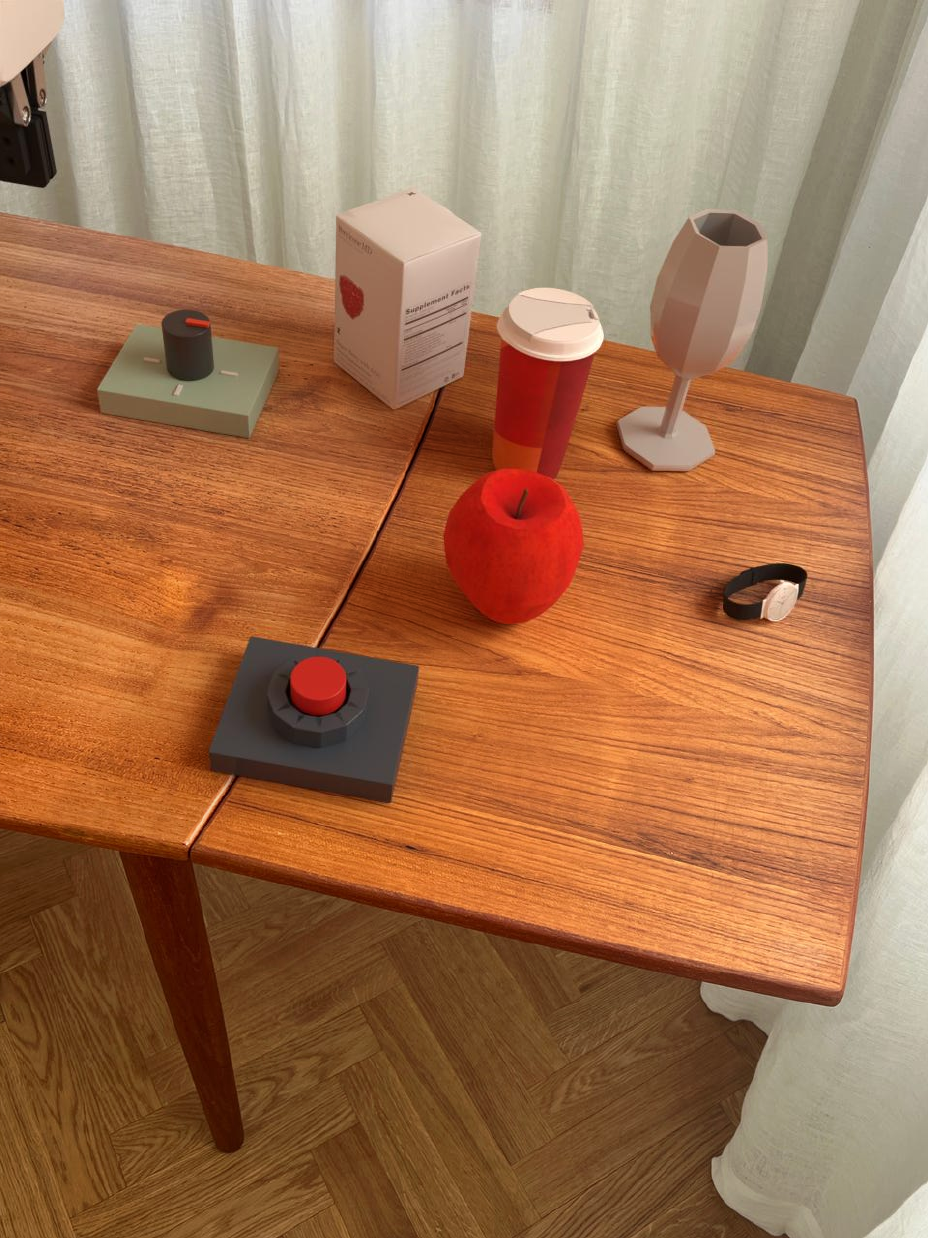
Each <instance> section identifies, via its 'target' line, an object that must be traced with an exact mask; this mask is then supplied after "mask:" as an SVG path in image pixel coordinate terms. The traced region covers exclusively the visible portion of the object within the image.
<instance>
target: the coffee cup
mask: <svg viewBox="0 0 928 1238" xmlns="http://www.w3.org/2000/svg"><path fill="white" fill-rule="evenodd" d="M600 321H601V320H600V317H599V315H598V313H597V311H596V309H594V305H593V303H591V302H590V301H589V300H587V299H586V298H584V297H583V296H580V295H579V294H577V293H574V292H572V291H569V290H565V289H561V288H554V287H535V288H534V287H533V288H530V289H526V290H523V291H520V292H519V293H517V294H516V295H515V296H514V297H513V298H512V299H511V301H510V302H509V304H508V305H507V306H506V307H505V308H504V310H503V311H502V312H501V314H500V316H499V318H498V320H497V323H496V330H497V333H498V335H499V336H500V348H499V349H500V352H499V361H498V364H499V365H498V374H497V386H496V388H497V389H496V397H495V398H496V399H495V409H494V410H495V411H494V424H493V436H492V437H493V438H492V464H493V467H494V469H495V470H499V469H503V468H504V469H520V470H526V471H532V472H536V473H539V474H541V475H544V476H547V477H550V478H552V479H553V480H554V479H555V478H556V477H557V476H558V474H559V472H560V471H561V467H562V464H563V462H564V459H565V456H566V452H567V450H568V445H569V442H570V439H571V436H572V433H573V429H574V426H575V422H576V419H577V416H578V414H579V411H580V407H581V404H582V400H583V397H584V393H585V389H586V386H587V382H588V378H589V375H590V371H591V368H592V366H593V365H592V364H593V361H594V358H595V354H596V353H597V351H598V350H599V349H600V348H601V346H602V345H603V342H604V338H605V336H604V330H603V327H602V324H601V322H600Z"/></svg>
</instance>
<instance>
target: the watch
mask: <svg viewBox="0 0 928 1238" xmlns="http://www.w3.org/2000/svg"><path fill="white" fill-rule="evenodd" d="M808 575H809V574H808V573H807V571H806V570H805V568H803V567H801V566H800V565H795V564H792V563H785V562H774V563H766V564H763V565H757V566H754V567H751V566H750V568H748V569H745V570H743V571H740V573H739V574H738V575H736V576H734V577H732V578H731V579H730V580H729V581H728V582H727V583H726V585H725V586H724V590H723V597H722V610H723V611H722V612H723V613H724V614H725V616H727V617H729V618H730V619H732V620H736V621H745V622H746V621H752V620H757V619H760V620H762V619H763V618H764V619H766V620H768V621H770V622H779V621H781V620H783V619H785V618H786V617H787V616H788V615H789V614H790V612H791V611H792V610H793V609H794V607H795V605H796V602H797V601H798V600H799V599H800V598H802V596H803V595H804V591H805V588H806V585H807V581H808V580H807V579H808ZM766 581H767V582H770V581H779V584H777V585H776V586H775V587H773V588H772V589H771V591H770V592H769V593H768V594H767V596H766V597H765V598H764V599H762V600H760V601H758V602H754V603H738V602H734V601H733V600H731V599H729V598H730V597H731V596H733V595H734V594H735V593H737V592H740V591H742V590H744V589H747V588H750V587H753V586H756V585H758V584H759V583H764V582H766ZM794 584H795V585H794Z"/></svg>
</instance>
